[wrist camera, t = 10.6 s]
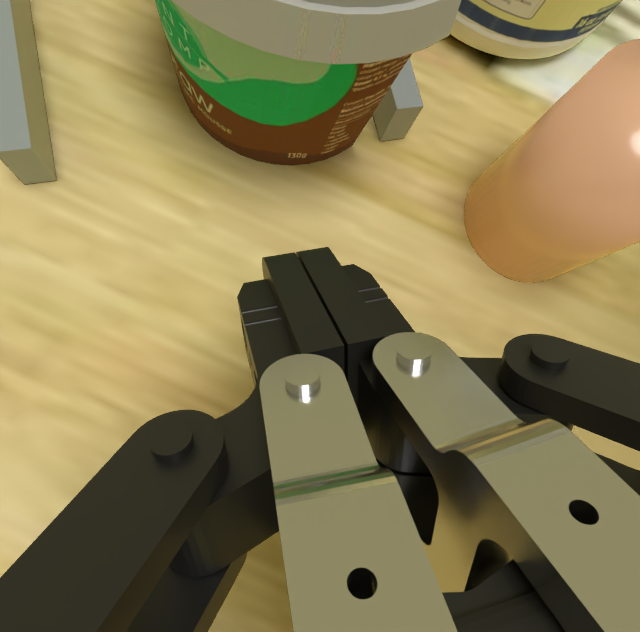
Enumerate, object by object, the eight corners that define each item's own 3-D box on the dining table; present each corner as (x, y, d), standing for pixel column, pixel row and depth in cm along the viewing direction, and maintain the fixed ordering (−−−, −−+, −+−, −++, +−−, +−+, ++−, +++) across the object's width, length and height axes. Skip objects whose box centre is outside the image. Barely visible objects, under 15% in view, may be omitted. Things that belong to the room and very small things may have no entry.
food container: (88, 33, 20) (-48, -307, 11) (202, -28, 22) (174, -373, 12) (270, 247, 20) (302, 93, 10) (373, 169, 21) (485, -28, 12)
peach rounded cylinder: (556, 157, 23) (715, 32, 16) (594, 270, 22) (783, 197, 15) (449, 172, 22) (562, 45, 14) (484, 293, 21) (627, 226, 13)
